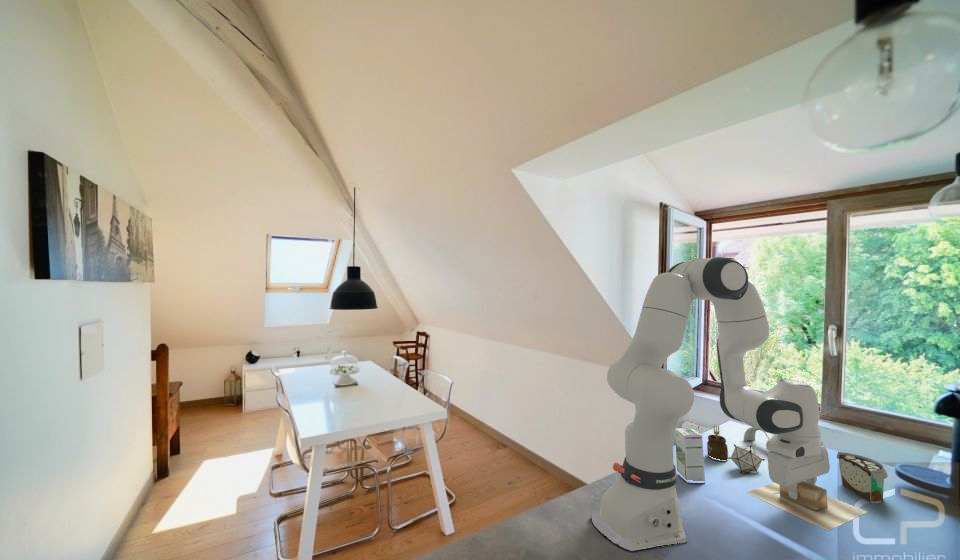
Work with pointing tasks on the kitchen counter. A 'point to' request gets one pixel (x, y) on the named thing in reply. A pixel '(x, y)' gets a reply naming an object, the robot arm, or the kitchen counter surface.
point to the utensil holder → (717, 446)
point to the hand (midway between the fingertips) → (801, 495)
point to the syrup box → (689, 454)
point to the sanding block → (808, 496)
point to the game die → (746, 459)
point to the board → (823, 519)
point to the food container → (862, 476)
